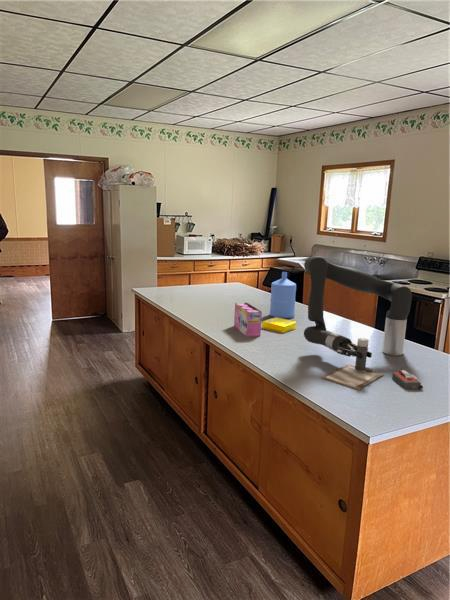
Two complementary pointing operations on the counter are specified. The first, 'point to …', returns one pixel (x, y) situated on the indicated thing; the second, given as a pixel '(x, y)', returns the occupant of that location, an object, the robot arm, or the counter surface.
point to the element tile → (279, 325)
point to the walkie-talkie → (406, 380)
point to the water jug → (283, 298)
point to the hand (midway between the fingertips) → (366, 355)
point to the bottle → (362, 348)
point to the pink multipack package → (248, 319)
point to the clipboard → (352, 377)
